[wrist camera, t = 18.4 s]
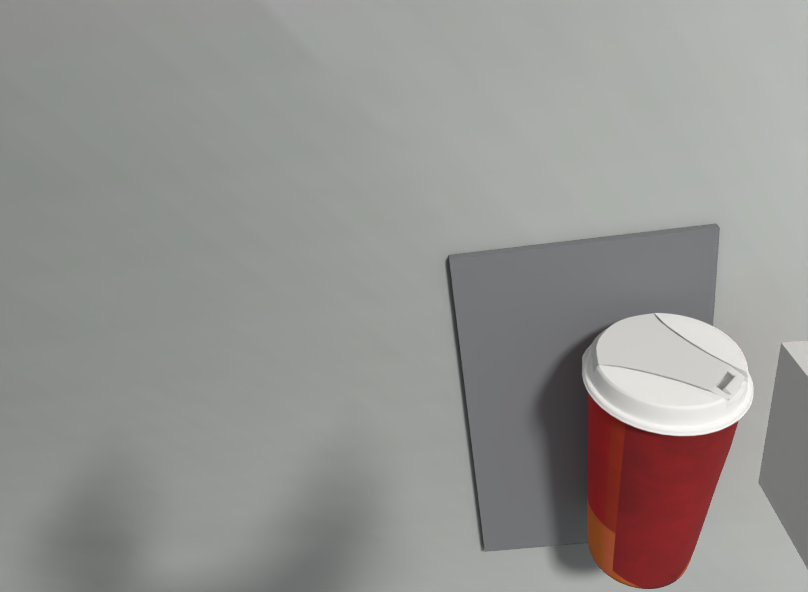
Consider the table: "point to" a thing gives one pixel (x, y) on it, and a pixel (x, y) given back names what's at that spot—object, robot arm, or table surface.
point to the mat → (556, 362)
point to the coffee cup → (657, 440)
